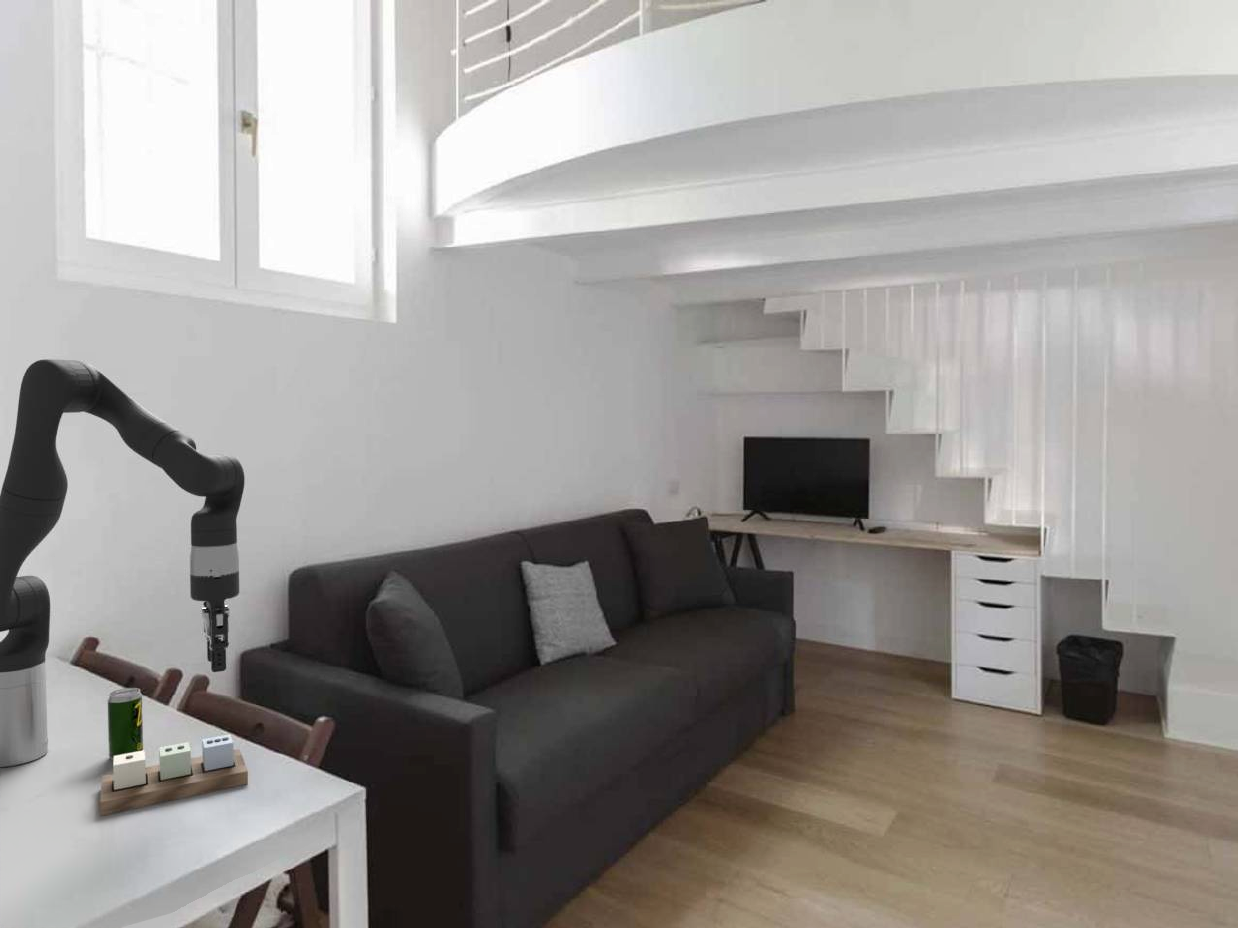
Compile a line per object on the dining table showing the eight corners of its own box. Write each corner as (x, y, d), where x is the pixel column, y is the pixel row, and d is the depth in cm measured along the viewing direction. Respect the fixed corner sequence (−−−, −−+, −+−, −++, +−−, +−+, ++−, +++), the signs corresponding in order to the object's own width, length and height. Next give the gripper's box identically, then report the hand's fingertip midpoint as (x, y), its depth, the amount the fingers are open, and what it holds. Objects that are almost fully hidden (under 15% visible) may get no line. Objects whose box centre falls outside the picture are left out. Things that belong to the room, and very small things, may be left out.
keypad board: (100, 815, 122) (100, 802, 122) (102, 788, 131) (101, 775, 131) (247, 783, 133) (247, 770, 133) (239, 760, 142) (239, 748, 142)
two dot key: (160, 780, 129) (160, 755, 129) (159, 770, 132) (159, 746, 132) (190, 773, 131) (190, 749, 131) (189, 764, 135) (188, 740, 135)
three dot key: (205, 771, 132) (204, 746, 132) (202, 761, 136) (202, 738, 136) (233, 765, 135) (233, 741, 134) (230, 756, 138) (230, 732, 138)
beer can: (109, 764, 140) (107, 699, 140) (108, 754, 145) (107, 690, 144) (143, 757, 143) (142, 693, 143) (142, 747, 148) (141, 685, 147)
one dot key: (114, 789, 125) (113, 764, 125) (114, 779, 129) (113, 754, 129) (145, 783, 128) (145, 758, 127) (145, 773, 131) (144, 748, 131)
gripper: (186, 566, 138) (188, 658, 139) (193, 578, 126) (195, 680, 127) (233, 562, 142) (235, 652, 143) (244, 574, 130) (246, 673, 131)
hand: (216, 665), depth 135 cm, fingers open, 6 cm apart
